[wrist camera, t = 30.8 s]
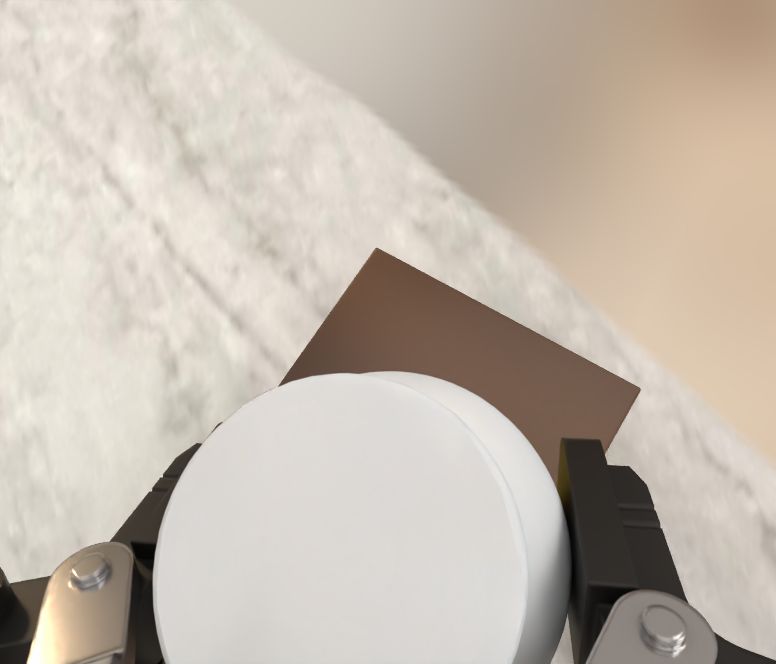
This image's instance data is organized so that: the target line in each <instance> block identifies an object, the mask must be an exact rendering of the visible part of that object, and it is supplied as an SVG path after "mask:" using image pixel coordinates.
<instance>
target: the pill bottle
mask: <svg viewBox="0 0 776 664" xmlns="http://www.w3.org/2000/svg"><path fill="white" fill-rule="evenodd" d="M571 583H572V553H571V543H570V536H569V531H568V526H567V521H566V517H565V513H564V510H563V506H562V503H561V500H560V497H559V494H558V492H557V489H556V487H555V484H554V482H553V480H552V478H551V476H550V474H549V472H548V470H547V468H546V467H545V465H544V463H543V462H542V460H541V458H540V457H539V455H538V454H537V452H536V451H535V449H534V448H533V447H532V445H531V444H530V442H529V441H528V440H527V439H526V437H525V436H524V435H523V434H522V433H521V431H520V430H519V429H518V428H517V427H516V426H515V425H514V424H513V423H512V422H511V421H510V420H509V419H508V418H506V417H505V416H504V415H503V414H502V413H501V412H499V411H498V410H497V409H496V408H495V407H493V406H492V405H491V404H489V403H488V402H486V401H485V400H484V399H482V398H481V397H479V396H477V395H475V394H474V393H472V392H470V391H468V390H466V389H464V388H462V387H460V386H457V385H455V384H453V383H450V382H448V381H445V380H442V379H438V378H435V377H431V376H428V375H422V374H417V373H410V372H397V371H384V372H369V373H363V374H352V373H336V374H327V375H318V376H311V377H307V378H303V379H299V380H295V381H291V382H289V383H287V384H284V385H282V386H280V387H277V388H274V389H271V390H269V391H267V392H265V393H263V394H262V395H260V396H258V397H256V398H254V399H253V400H251V401H249V402H248V403H246V404H245V405H243V406H242V407H241V408H239V409H238V410H237V411H236V412H234V413H233V414H232V415H231V416H230V417H228V418H227V419H226V420H225V421H224V422H223V423H222V424H221V425H219V426H218V427H217V428H216V429H215V430H214V431H213V432H212V433H211V434H210V436H209V437H208V438H207V439H206V440H205V441H204V443H203V444H202V445H201V446H200V448H199V449H198V450H197V452H196V453H195V454H194V456H193V457H192V458H191V460H190V461H189V463H188V465H187V466H186V468H185V470H184V472H183V473H182V475H181V477H180V479H179V481H178V483H177V485H176V486H175V488H174V491H173V493H172V495H171V497H170V500H169V503H168V505H167V508H166V510H165V513H164V516H163V520H162V523H161V526H160V530H159V535H158V541H157V546H156V551H155V559H154V569H153V608H154V616H155V622H156V629H157V634H158V638H159V643H160V647H161V651H162V655H163V657H164V660H165V663H166V664H550V663H551V660H552V658H553V656H554V654H555V652H556V649H557V647H558V644H559V641H560V638H561V636H562V633H563V630H564V626H565V622H566V618H567V613H568V607H569V601H570V595H571Z"/></svg>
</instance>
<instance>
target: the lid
mask: <svg viewBox="0 0 776 664" xmlns="http://www.w3.org/2000/svg"><path fill="white" fill-rule="evenodd" d="M384 371H397V372H410V373H417V374H422V375H428V376H431V377H435V378H438V379H442V380H445V381H448V382H450V383H453V384H455V385H457V386H460V387H462V388H464V389H466V390H468V391H470V392H472V393H474V394H475V395H477V396H479V397H481V398H482V399H484V400H485V401H486V402H488V403H489V404H491V405H492V406H493V407H495V408H496V409H497V410H498V411H499V412H501V413H502V414H503V415H504V416H505V417H506V418H508V419H509V420H510V421H511V422H512V423H513V424H514V425H515V426H516V427H517V428H518V429H519V430H520V431H521V433H522V434H523V435H524V436H525V437H526V439H527V440H528V441H529V442H530V444H531V445H532V447H533V448H534V449H535V451H536V452H537V454H538V455H539V457H540V458H541V460H542V462H543V463H544V465H545V467H546V468H547V470H548V472H549V474H550V476H551V478H552V480H553V482H554V484H555V487H556V489H557V480H558V467H559V453H560V442H561V438H562V437H565V438H588V439H600V440H601V443H602V446H603V450H604V454H605V453H606V451H607V450H608V448H609V446H610V444H611V442H612V441H613V439H614V437H615V435H616V434H617V432H618V430H619V428H620V426H621V425H622V423H623V421H624V419H625V418H626V416H627V414H628V412H629V410H630V409H631V407H632V405H633V403H634V401H635V400H636V398H637V396H638V394H639V393H640V391H641V389H640V388H639V387H637V386H635V385H634V384H632V383H630V382H628V381H626V380H624V379H622V378H620V377H619V376H617V375H615V374H613V373H611V372H609V371H607V370H605V369H604V368H602V367H600V366H598V365H596V364H594V363H592V362H590V361H589V360H587V359H585V358H583V357H581V356H579V355H577V354H575V353H574V352H572V351H570V350H568V349H566V348H564V347H562V346H560V345H559V344H557V343H555V342H553V341H551V340H549V339H547V338H545V337H544V336H542V335H540V334H538V333H536V332H534V331H532V330H530V329H529V328H527V327H525V326H523V325H521V324H519V323H517V322H515V321H514V320H512V319H510V318H508V317H506V316H504V315H502V314H500V313H499V312H497V311H495V310H493V309H491V308H489V307H487V306H485V305H484V304H482V303H480V302H478V301H476V300H474V299H472V298H470V297H469V296H467V295H465V294H463V293H461V292H459V291H457V290H455V289H454V288H452V287H450V286H448V285H446V284H444V283H442V282H440V281H439V280H437V279H435V278H433V277H431V276H429V275H427V274H425V273H424V272H422V271H420V270H418V269H416V268H414V267H412V266H410V265H409V264H407V263H405V262H403V261H401V260H399V259H397V258H395V257H394V256H392V255H390V254H388V253H386V252H384V251H382V250H380V249H379V248H375V250H374V251H373V253H372V254H371V256H370V257H369V258H368V260H367V261H366V263H365V264H364V265H363V267H362V268H361V270H360V271H359V273H358V274H357V275H356V277H355V278H354V280H353V281H352V282H351V284H350V285H349V287H348V288H347V290H346V291H345V292H344V294H343V295H342V297H341V298H340V299H339V301H338V302H337V304H336V305H335V307H334V308H333V309H332V311H331V312H330V314H329V315H328V316H327V318H326V319H325V321H324V322H323V324H322V325H321V326H320V328H319V329H318V331H317V332H316V334H315V335H314V336H313V338H312V339H311V341H310V342H309V343H308V345H307V346H306V348H305V349H304V351H303V352H302V353H301V355H300V356H299V358H298V359H297V360H296V362H295V363H294V365H293V366H292V368H291V369H290V370H289V372H288V373H287V375H286V376H285V377H284V379H283V380H282V382H281V383H280V385H279V386H278V387H280V386H282V385H284V384H287V383H289V382H291V381H295V380H299V379H303V378H307V377H311V376H318V375H327V374H336V373H352V374H363V373H369V372H384Z"/></svg>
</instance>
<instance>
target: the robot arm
mask: <svg viewBox="0 0 776 664" xmlns="http://www.w3.org/2000/svg"><path fill="white" fill-rule="evenodd" d="M222 423H223V422H221V423H219V424H218V425H217V426H216V427H215V429H216V428H217V427H218V426H219V425H221V424H222ZM215 429H214V430H215ZM214 430H213V431H214ZM213 431H212V432H213ZM209 436H210V435H209ZM201 445H202V444H201V443H196V444H195V445H194V446H192V447H191V448H189V449H188V450H186V451H185V452H184V453H182V454H181V455H179V456H178V457H177V458H176V459H175V460H174V461H173V463H172V464H171V465H170V466H169V468H168V469H167V470H166V471H165V473H164V474H163V478H160V479H159V480H158V482H157V483H156V484H155V485H154V487H153V488H152V492H149V493H148V494H147V495H146V497H145V498H144V499H143V500H142V502H141V503H140V504H139V505H138V507H137V508H136V509H135V510H134V512H133V513H132V514H131V515H130V517H129V518H128V519H127V521H126V522H125V523H124V524H123V526H122V527H121V528H120V529H119V531H118V532H117V533H116V534H115V536H114V537H113V538H112V539H111V541H110V542H103V543H99V544H95V545H92V546H89V547H86V548H84V549H82V550H80V551H78V552H76V553H75V554H73V555H72V556H70V557H69V558H67V559H66V560H65V561H64V562H63V563H62V564H61V565H60V566H59V567H58V568H57V569H56V570H55V571H54V572H53V574H52V575H51V576H48V577H42V578H37V579H31V580H26V581H21V582H15V583H10V584H9V582H8V580H7V578H6V576H5V574H4V572H3V570H2V569H1V567H0V664H166V663H165V660H164V657H163V655H162V651H161V647H160V643H159V638H158V634H157V629H156V622H155V616H154V608H153V569H154V559H155V551H156V546H157V541H158V535H159V530H160V526H161V523H162V520H163V516H164V513H165V510H166V508H167V505H168V503H169V500H170V497H171V495H172V493H173V491H174V488H175V486H176V485H177V483H178V481H179V479H180V477H181V475H182V473H183V472H184V470H185V468H186V466H187V465H188V463H189V461H190V460H191V458H192V457H193V456H194V454H195V453H196V452H197V450H198V449H199V448H200V446H201ZM557 492H558V494H559V497H560V500H561V503H562V506H563V510H564V513H565V517H566V521H567V526H568V531H569V536H570V543H571V553H572V583H571V595H570V601H569V607H568V619H569V627H570V635H571V643H572V651H573V659H574V664H776V661H775V660H773V659H770V658H767V657H764V656H762V655H759V654H756V653H754V652H751V651H748V650H746V649H743V648H741V647H739V646H736V645H734V644H732V643H731V642H729V641H727V640H725V639H724V638H722V637H720V636H719V635H717V634H716V633H715V632H713V630H712V628H711V626H710V625H709V624H708V622H707V621H706V619H705V618H704V617H703V616H702V615H701V614H700V613H699V612H698V611H697V610H696V609H694V608H693V607H692V606H691V605H689V604H688V601H687V599H686V597H685V594H684V591H683V588H682V585H681V582H680V580H679V577H678V574H677V571H676V568H675V565H674V562H673V559H672V556H671V554H670V551H669V548H668V545H667V542H666V539H665V536H664V533H663V530H662V529H661V528H660V522H659V519H658V516H657V513H656V511H655V510H654V504H653V501H652V499H651V496H650V493H649V490H648V487H647V485H646V484H645V483H644V482H643V480H642V479H641V478H640V477H639V476H638V475H637V474H636V473H635V472H634V471H633V470H632V469H631V468H630V467H629V466H614V465H607V461H606V458H605V454H604V450H603V446H602V443H601V440H600V439H588V438H565V437H562V438H561V442H560V453H559V467H558V480H557Z"/></svg>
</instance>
